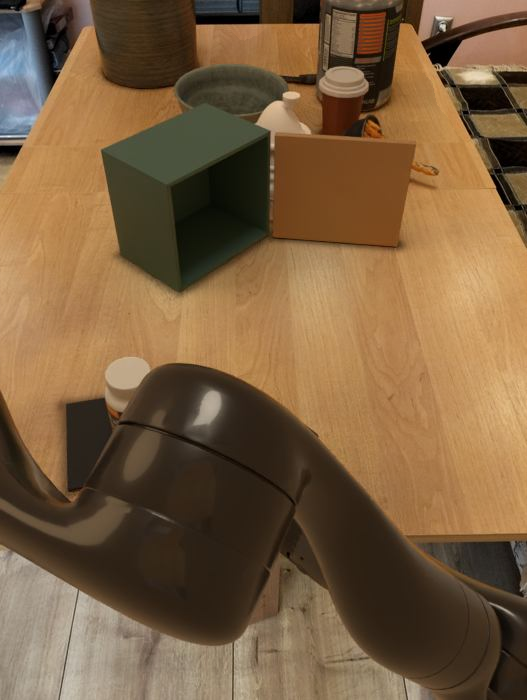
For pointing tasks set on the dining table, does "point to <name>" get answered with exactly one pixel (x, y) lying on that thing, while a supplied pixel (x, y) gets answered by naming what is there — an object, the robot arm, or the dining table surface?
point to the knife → (302, 78)
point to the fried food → (372, 129)
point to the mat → (85, 439)
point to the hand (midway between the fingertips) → (191, 427)
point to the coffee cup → (341, 99)
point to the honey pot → (281, 128)
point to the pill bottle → (123, 384)
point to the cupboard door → (340, 188)
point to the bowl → (231, 89)
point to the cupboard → (189, 193)
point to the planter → (145, 40)
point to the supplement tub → (360, 43)
